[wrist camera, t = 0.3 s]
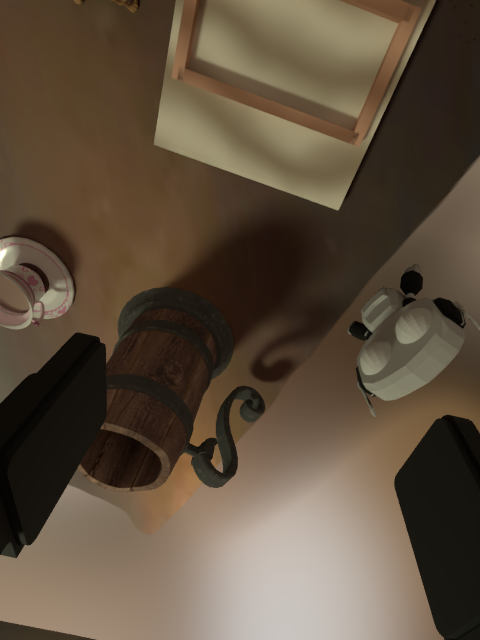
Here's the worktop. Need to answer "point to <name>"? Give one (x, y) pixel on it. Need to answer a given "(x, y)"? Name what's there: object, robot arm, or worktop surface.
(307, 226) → the worktop surface
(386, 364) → the robot toy
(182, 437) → the tankard
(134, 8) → the lion figurine
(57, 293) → the teacup
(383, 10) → the base plate
